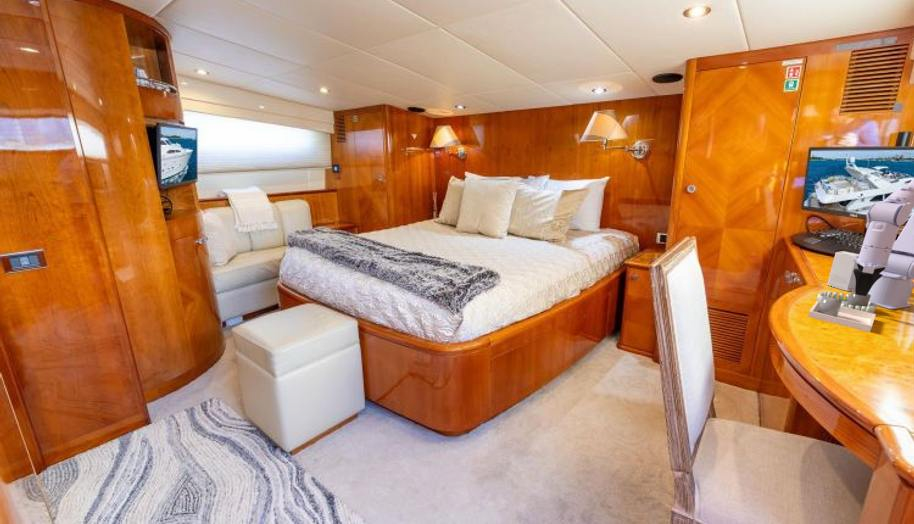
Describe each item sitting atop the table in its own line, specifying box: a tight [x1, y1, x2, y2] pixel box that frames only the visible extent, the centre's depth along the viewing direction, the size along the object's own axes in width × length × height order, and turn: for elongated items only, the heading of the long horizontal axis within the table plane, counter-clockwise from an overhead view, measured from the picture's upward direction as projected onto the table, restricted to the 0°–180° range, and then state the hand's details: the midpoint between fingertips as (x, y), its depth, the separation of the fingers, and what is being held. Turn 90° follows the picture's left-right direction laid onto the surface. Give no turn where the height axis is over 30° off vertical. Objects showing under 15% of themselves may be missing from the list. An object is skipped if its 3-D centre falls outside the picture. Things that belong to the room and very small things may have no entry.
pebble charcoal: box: [847, 290, 871, 311], centre depth 112 cm, size 4×4×4 cm
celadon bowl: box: [816, 291, 878, 314], centre depth 114 cm, size 12×12×3 cm
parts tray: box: [807, 300, 877, 333], centre depth 105 cm, size 12×12×2 cm
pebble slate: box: [818, 297, 842, 317], centre depth 107 cm, size 4×4×4 cm
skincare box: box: [827, 250, 860, 292], centre depth 129 cm, size 6×4×12 cm
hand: (862, 291), depth 111 cm, fingers open, 7 cm apart
